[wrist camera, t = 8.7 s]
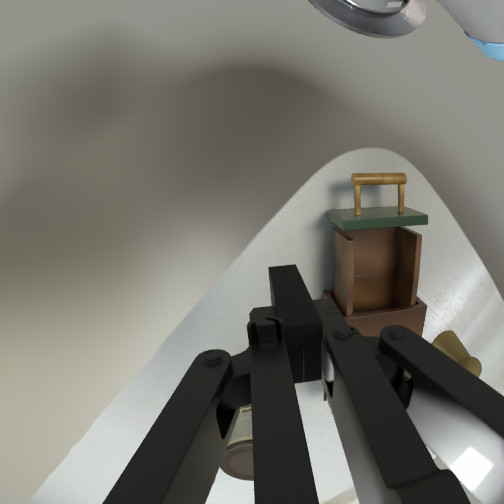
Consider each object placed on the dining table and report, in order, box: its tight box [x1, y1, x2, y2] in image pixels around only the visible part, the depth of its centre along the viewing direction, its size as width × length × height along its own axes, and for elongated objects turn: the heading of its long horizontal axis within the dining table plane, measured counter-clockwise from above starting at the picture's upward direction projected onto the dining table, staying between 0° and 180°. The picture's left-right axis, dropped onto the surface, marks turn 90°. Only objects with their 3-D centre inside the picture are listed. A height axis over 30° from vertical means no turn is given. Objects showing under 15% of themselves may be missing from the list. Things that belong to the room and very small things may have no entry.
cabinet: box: [321, 290, 427, 414], centre depth 42 cm, size 17×13×9 cm
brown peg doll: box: [432, 330, 482, 377], centre depth 42 cm, size 6×6×11 cm
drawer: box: [328, 173, 428, 316], centre depth 38 cm, size 20×11×7 cm, turn 5°
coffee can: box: [220, 404, 254, 481], centre depth 43 cm, size 10×10×14 cm
